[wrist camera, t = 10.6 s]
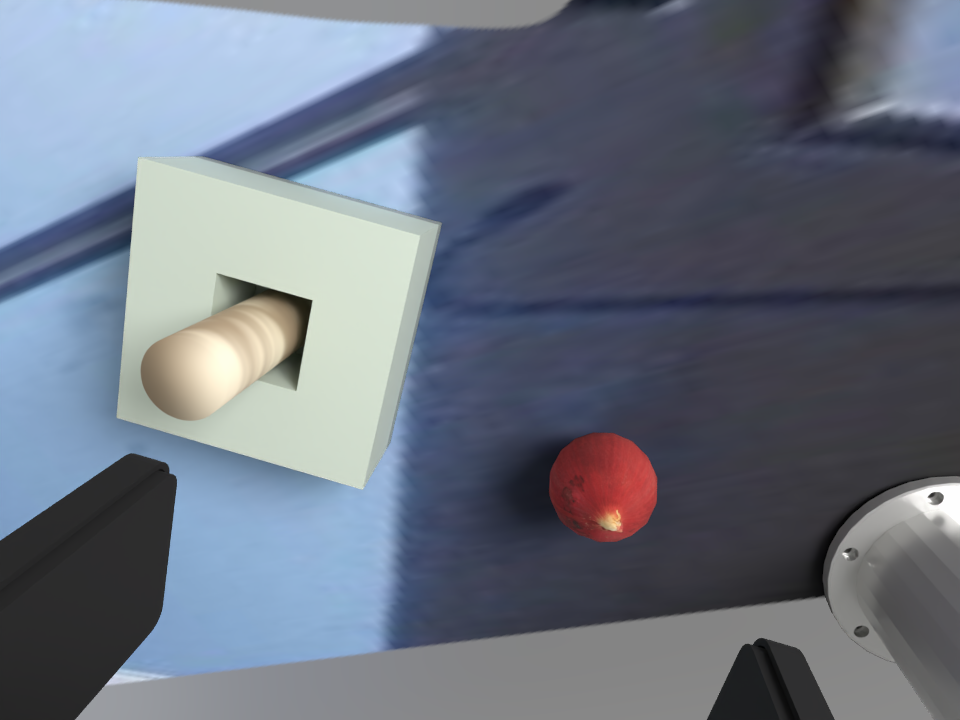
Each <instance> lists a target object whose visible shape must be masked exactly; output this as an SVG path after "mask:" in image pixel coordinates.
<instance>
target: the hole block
mask: <svg viewBox="0 0 960 720" xmlns="http://www.w3.org/2000/svg"><path fill="white" fill-rule="evenodd" d="M441 225H442V223H440V222H437V221H433V220H430V219H426V218H422V217H419V216H415V215H412V214H408V213H404V212H401V211H397V210H394V209H390V208H386V207H383V206H379V205H376V204H372V203H368V202H365V201H361V200H358V199H354V198H350V197H347V196H343V195H340V194H336V193H332V192H329V191H325V190H322V189H318V188H314V187H311V186H307V185H304V184H300V183H297V182H293V181H289V180H286V179H282V178H279V177H275V176H271V175H268V174H264V173H261V172H257V171H253V170H250V169H246V168H243V167H239V166H235V165H232V164H228V163H225V162H221V161H217V160H214V159H210V158H207V157H138V166H137V178H136V190H135V202H134V214H133V226H132V238H131V250H130V262H129V274H128V286H127V298H126V310H125V322H124V334H123V347H122V359H121V371H120V383H119V395H118V407H117V418H119V419H122V420H126V421H129V422H132V423H136V424H139V425H143V426H146V427H150V428H153V429H156V430H160V431H163V432H167V433H170V434H174V435H177V436H180V437H184V438H187V439H191V440H194V441H198V442H201V443H204V444H208V445H211V446H215V447H218V448H221V449H225V450H228V451H232V452H235V453H239V454H242V455H245V456H249V457H252V458H256V459H259V460H263V461H266V462H269V463H273V464H276V465H280V466H283V467H287V468H290V469H293V470H297V471H300V472H304V473H307V474H311V475H314V476H317V477H321V478H324V479H328V480H331V481H335V482H338V483H341V484H345V485H348V486H352V487H355V488H359V489H362V490H363V488H364V487H365V485H366V483H367V482H368V480H369V478H370V476H371V475H372V473H373V471H374V470H375V468H376V466H377V464H378V463H379V461H380V459H381V458H382V456H383V454H384V452H385V451H386V449H387V447H388V446H389V444H390V441H391V437H392V433H393V428H394V424H395V420H396V416H397V411H398V407H399V403H400V399H401V394H402V390H403V386H404V382H405V377H406V373H407V369H408V365H409V360H410V356H411V352H412V348H413V343H414V339H415V335H416V331H417V326H418V322H419V318H420V314H421V310H422V305H423V301H424V297H425V293H426V288H427V284H428V280H429V276H430V271H431V267H432V263H433V259H434V254H435V250H436V246H437V242H438V237H439V233H440V229H441ZM270 288H271V289H275V290H278V291H282V292H285V293H289V294H292V295H296V296H299V297H303V298H306V299H310V300H313V301H312V307H311V313H310V318H309V324H308V329H307V335H306V341H305V345H303V346H302V347H301V348H299V349H298V350H297V351H295V352H294V353H293V354H291V355H290V356H289V357H287V358H286V359H285V360H283V361H282V362H281V363H279V364H278V365H277V366H275V367H274V368H273V369H271V370H270V371H269V372H267V373H266V374H265V375H263V376H262V377H261V378H259V379H258V380H257V381H255V382H254V383H253V384H251V385H250V386H249V387H247V388H246V389H245V390H243V391H242V392H241V393H239V394H238V395H237V396H235V397H234V398H233V399H231V400H230V401H229V402H227V403H226V404H225V405H223V406H222V407H221V408H219V409H218V410H217V411H215V412H214V413H213V414H211V415H210V416H208V417H206V418H204V419H200V420H195V421H186V420H180V419H177V418H174V417H171V416H169V415H167V414H166V413H164V412H163V411H161V410H160V409H159V408H158V407H157V406H156V405H155V404H154V403H153V402H152V401H151V400H150V398H149V397H148V395H147V393H146V391H145V389H144V387H143V384H142V380H141V362H142V359H143V357H144V355H145V353H146V351H147V350H148V349H149V347H150V346H151V345H153V344H154V343H155V342H157V341H159V340H161V339H163V338H165V337H167V336H170V335H172V334H174V333H176V332H178V331H180V330H182V329H185V328H187V327H189V326H191V325H193V324H195V323H197V322H200V321H202V320H204V319H206V318H208V317H210V316H212V315H214V314H217V313H219V312H221V311H223V310H225V309H227V308H229V307H232V306H234V305H236V304H238V303H240V302H242V301H244V300H247V299H249V298H251V297H253V296H255V295H257V294H259V293H262V292H264V291H266V290H268V289H270Z"/></svg>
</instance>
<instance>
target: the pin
mask: <svg viewBox="0 0 960 720" xmlns="http://www.w3.org/2000/svg"><path fill="white" fill-rule="evenodd" d="M312 301H313V300H310V299H306V298H303V297H299V296H296V295H292V294H289V293H285V292H282V291H278V290H275V289H271V288H270V289H268V290H266V291H264V292H262V293H259V294H257V295H255V296H253V297H251V298H249V299H247V300H244V301H242V302H240V303H238V304H236V305H234V306H232V307H229V308H227V309H225V310H223V311H221V312H219V313H217V314H214V315H212V316H210V317H208V318H206V319H204V320H202V321H200V322H197V323H195V324H193V325H191V326H189V327H187V328H185V329H182V330H180V331H178V332H176V333H174V334H172V335H170V336H167V337H165V338H163V339H161V340H159V341H157V342H155V343H154V344H153V345H151V346H150V347H149V349H148V350H147V351H146V353H145V355H144V357H143V359H142V362H141V380H142V384H143V387H144V389H145V391H146V393H147V395H148V397H149V398H150V400H151V401H152V402H153V403H154V404H155V405H156V406H157V407H158V408H159V409H160V410H161V411H163V412H164V413H166V414H167V415H169V416H171V417H174V418H177V419H180V420H186V421H195V420H200V419H204V418H206V417H208V416H210V415H211V414H213V413H214V412H215V411H217V410H218V409H219V408H221V407H222V406H223V405H225V404H226V403H227V402H229V401H230V400H231V399H233V398H234V397H235V396H237V395H238V394H239V393H241V392H242V391H243V390H245V389H246V388H247V387H249V386H250V385H251V384H253V383H254V382H255V381H257V380H258V379H259V378H261V377H262V376H263V375H265V374H266V373H267V372H269V371H270V370H271V369H273V368H274V367H275V366H277V365H278V364H279V363H281V362H282V361H283V360H285V359H286V358H287V357H289V356H290V355H291V354H293V353H294V352H295V351H297V350H298V349H299V348H301V347H302V346H303V345H305V341H306V335H307V329H308V324H309V318H310V313H311V307H312Z"/></svg>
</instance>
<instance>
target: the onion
mask: <svg viewBox="0 0 960 720" xmlns="http://www.w3.org/2000/svg"><path fill="white" fill-rule="evenodd" d="M549 495H550V498H551V501H552V503H553V506H554V508H555V510H556V512H557V514H558V517H559V519H560V520H561V521H562V523H563V524H565V525H566V526H567V527H569V528H570V529H572V530H573V531H574V532H576V533H577V534H578V535H581V536H585V537H587V538H590V539H593V540H595V541H598V542H616V541H619V540H621V539H624V538H627V537H629V536H632V535H633V534H634V533H635V532H636V531H638V530H639V529H640V528H641V527H643V526H644V525H645V524H646V523H647V522H648V520H649V518H650V516H651V513H652V511H653V509H654V507H655V505H656V503H657V477H656V475H655V472H654V470H653V468H652V465H651V463H650V461H649V459H648V457H647V456H646V455H645V454H644V453H643V452H642V451H641V450H640V449H639V448H638V447H637V446H636V445H635V444H634V443H633V442H632V441H630V440H628V439H626V438H623V437H621V436H619V435H616V434H614V433H591V434H588V435H585V436H582V437H579V438H576V439H574V440H573V441H572V442H571V443H569V444H568V445H567V446H566V447H564V448H563V449H562V450H561V452H560V453H559V455H558V457H557V459H556V461H555V462H554V464H553V466H552V469H551V472H550V483H549Z"/></svg>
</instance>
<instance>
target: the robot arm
mask: <svg viewBox="0 0 960 720" xmlns="http://www.w3.org/2000/svg"><path fill="white" fill-rule="evenodd" d="M176 487H177V479H176V476H175V475H173V474H169V467H168V465H167V464H166V463H165V462H161V461H158V460H154V459H151V458H147V457H144V456H141V455H137V454H128V455H126V456H124V457H123V458H121V459H120V460H118V461H117V462H115V463H114V464H112V465H111V466H109V467H108V468H106V469H105V470H103V471H102V472H101V473H99V474H98V475H96V476H95V477H93V478H92V479H90V480H89V481H87V482H86V483H84V484H83V485H81V486H80V487H78V488H77V489H76V490H74V491H73V492H71V493H70V494H68V495H67V496H65V497H64V498H62V499H61V500H59V501H58V502H56V503H55V504H53V505H52V506H51V507H49V508H48V509H46V510H45V511H43V512H42V513H40V514H39V515H37V516H36V517H34V518H33V519H31V520H30V521H29V522H27V523H26V524H24V525H23V526H21V527H20V528H18V529H17V530H15V531H14V532H12V533H11V534H9V535H8V536H6V537H5V538H4V539H2V540H1V541H0V720H75V719H76V718H77V717H78V716H79V714H80V713H81V712H82V711H83V710H84V708H85V707H86V706H87V705H88V704H89V703H90V702H91V701H92V699H93V698H94V697H95V696H96V695H97V694H98V693H99V691H100V690H101V689H102V688H103V687H104V686H105V684H106V683H107V682H108V681H109V680H110V679H111V678H112V676H113V675H114V674H115V673H116V672H117V671H118V670H119V668H120V667H121V666H122V665H123V664H124V663H125V661H126V660H127V659H128V658H129V657H130V656H131V655H132V653H133V652H134V651H135V650H136V649H137V648H138V647H139V645H140V644H141V643H142V642H143V641H144V640H145V638H146V637H147V636H148V635H149V634H150V633H151V631H152V630H153V629H154V627H155V625H156V624H157V622H158V620H159V618H160V615H161V612H162V607H163V600H164V591H165V582H166V574H167V565H168V556H169V548H170V539H171V530H172V522H173V513H174V504H175V496H176ZM823 586H824V593H825V597H826V600H827V602H828V605H829V607H830V609H831V612H832V613H833V615H834V617H835V618H836V620H837V621H838V623H839V625H840V627H841V628H842V629H843V630H844V632H845V633H846V634H847V635H848V636H849V637H850V638H851V639H852V640H853V641H854V642H855V643H857V644H858V645H859V646H861V647H862V648H864V649H865V650H866V651H868V652H870V653H872V654H874V655H876V656H878V657H880V658H882V659H884V660H887V661H891V662H894V663H896V664H897V665H898V667H899V668H900V670H901V671H902V672H903V674H904V676H905V677H906V678H907V680H908V681H909V683H910V685H911V686H912V688H913V689H914V691H915V692H916V694H917V695H918V697H919V698H920V700H921V701H922V703H923V704H924V706H925V707H926V709H927V710H928V712H929V713H930V715H931V716H932V718H933V719H934V720H960V477H958V476H948V477H931V478H926V479H922V480H917V481H912V482H908V483H905V484H903V485H900V486H898V487H895V488H892V489H890V490H887V491H885V492H884V493H882V494H880V495H878V496H877V497H875V498H873V499H871V500H870V501H868V502H867V503H866V504H864V505H863V506H862V507H861V508H859V509H858V510H857V511H856V512H854V513H853V514H852V515H851V516H850V517H849V519H848V520H847V521H846V522H845V523H844V524H843V525H842V527H841V528H840V529H839V530H838V532H837V534H836V536H835V537H834V539H833V541H832V542H831V544H830V546H829V549H828V552H827V555H826V558H825V561H824V569H823ZM707 720H834V717H833V715H832V714H831V711H830V709H829V707H828V705H827V703H826V701H825V699H824V697H823V695H822V693H821V690H820V688H819V686H818V684H817V682H816V680H815V678H814V676H813V674H812V672H811V670H810V668H809V666H808V663H807V661H806V659H805V657H804V655H803V654H802V652H801V651H800V650H799V649H797V648H795V647H791V646H788V645H784V644H781V643H777V642H774V641H771V640H767V639H764V638H759V639H758V640H756V641H755V642H754V644H753V645H750V644H745V645H744V646H742V648H741V650H740V651H739V653H738V655H737V658H736V660H735V662H734V664H733V666H732V668H731V670H730V672H729V674H728V677H727V679H726V681H725V683H724V685H723V687H722V689H721V691H720V693H719V695H718V698H717V700H716V702H715V704H714V706H713V708H712V710H711V712H710V715H709V717H708V719H707Z"/></svg>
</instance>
